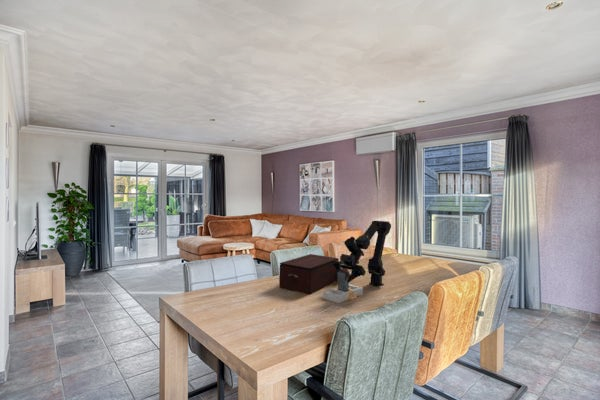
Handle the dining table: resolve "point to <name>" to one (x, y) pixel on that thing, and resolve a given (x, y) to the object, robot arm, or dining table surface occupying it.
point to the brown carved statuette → (344, 268)
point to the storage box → (307, 273)
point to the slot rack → (342, 294)
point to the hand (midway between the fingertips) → (341, 280)
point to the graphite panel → (343, 281)
